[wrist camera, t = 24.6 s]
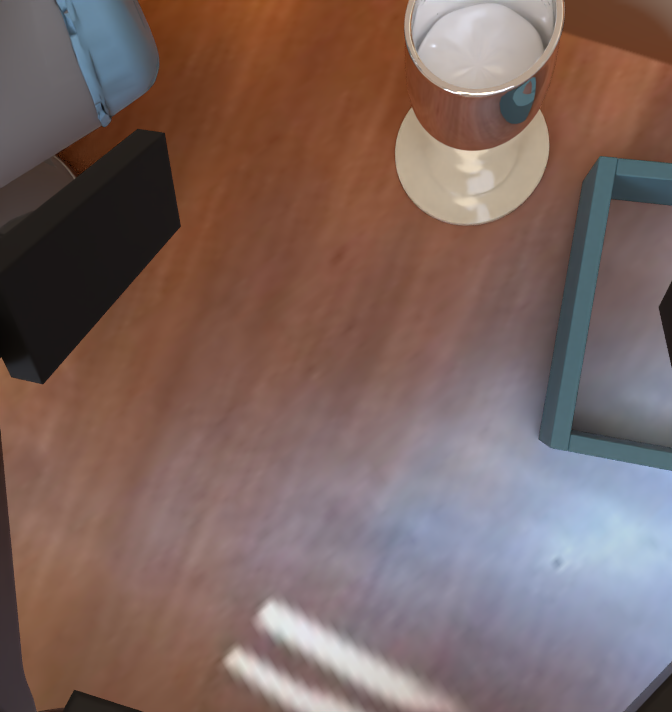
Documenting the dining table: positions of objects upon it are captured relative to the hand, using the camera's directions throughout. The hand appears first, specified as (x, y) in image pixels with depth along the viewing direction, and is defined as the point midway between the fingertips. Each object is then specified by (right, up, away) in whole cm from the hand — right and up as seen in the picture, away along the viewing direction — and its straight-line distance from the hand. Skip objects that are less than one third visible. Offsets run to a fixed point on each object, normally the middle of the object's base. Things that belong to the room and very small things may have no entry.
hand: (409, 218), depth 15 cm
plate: (+7, +10, +25) cm, 28 cm away
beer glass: (+7, +10, +25) cm, 28 cm away
